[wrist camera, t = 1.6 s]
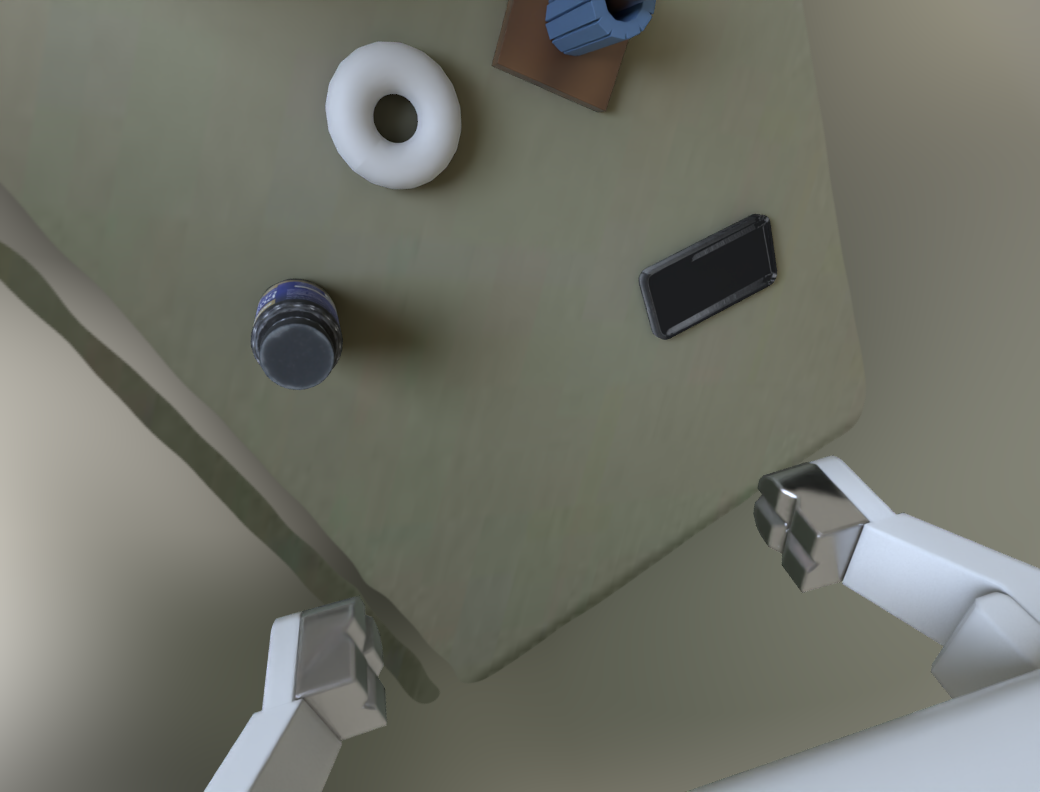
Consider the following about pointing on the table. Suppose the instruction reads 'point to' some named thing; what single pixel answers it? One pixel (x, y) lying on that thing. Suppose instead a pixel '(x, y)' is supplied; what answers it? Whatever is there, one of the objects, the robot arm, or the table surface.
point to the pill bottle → (296, 334)
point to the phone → (709, 276)
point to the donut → (353, 109)
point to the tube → (593, 24)
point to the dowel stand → (557, 56)
